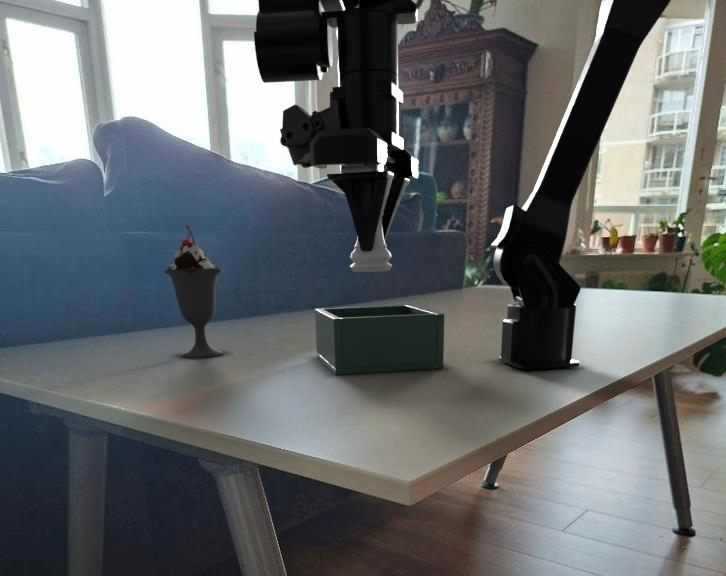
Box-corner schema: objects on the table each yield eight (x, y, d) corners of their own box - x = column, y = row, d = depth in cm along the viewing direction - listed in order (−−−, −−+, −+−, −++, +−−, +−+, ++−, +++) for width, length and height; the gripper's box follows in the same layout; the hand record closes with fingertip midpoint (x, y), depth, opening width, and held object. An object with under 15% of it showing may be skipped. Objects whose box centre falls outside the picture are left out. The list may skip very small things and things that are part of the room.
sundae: (206, 348, 87) (194, 225, 82) (240, 353, 83) (229, 223, 78) (163, 355, 82) (147, 225, 77) (197, 360, 78) (182, 223, 73)
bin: (411, 352, 81) (411, 304, 79) (443, 368, 70) (444, 313, 68) (316, 357, 78) (314, 308, 77) (335, 375, 68) (333, 318, 66)
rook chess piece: (390, 271, 67) (389, 184, 64) (346, 272, 68) (343, 186, 65) (394, 269, 71) (393, 188, 68) (353, 270, 72) (350, 189, 69)
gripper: (320, 102, 74) (326, 251, 79) (249, 62, 57) (263, 254, 62) (419, 94, 71) (418, 248, 76) (374, 49, 54) (377, 252, 60)
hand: (371, 250), depth 69 cm, fingers closed on rook chess piece, 3 cm apart
